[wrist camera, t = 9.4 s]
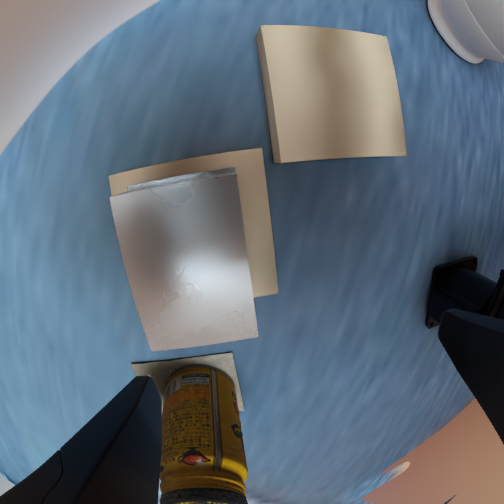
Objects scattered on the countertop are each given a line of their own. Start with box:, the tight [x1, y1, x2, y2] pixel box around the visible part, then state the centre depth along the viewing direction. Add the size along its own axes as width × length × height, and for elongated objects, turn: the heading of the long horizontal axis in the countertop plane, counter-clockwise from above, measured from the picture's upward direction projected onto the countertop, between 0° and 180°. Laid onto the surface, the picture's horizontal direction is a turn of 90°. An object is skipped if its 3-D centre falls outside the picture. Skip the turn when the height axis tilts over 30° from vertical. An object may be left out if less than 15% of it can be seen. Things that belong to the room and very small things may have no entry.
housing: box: [109, 167, 259, 351], centre depth 14 cm, size 5×7×6 cm
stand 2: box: [256, 25, 407, 163], centre depth 16 cm, size 9×9×2 cm
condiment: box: [130, 353, 248, 504], centre depth 17 cm, size 7×8×12 cm
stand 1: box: [109, 148, 279, 298], centre depth 17 cm, size 9×9×2 cm
